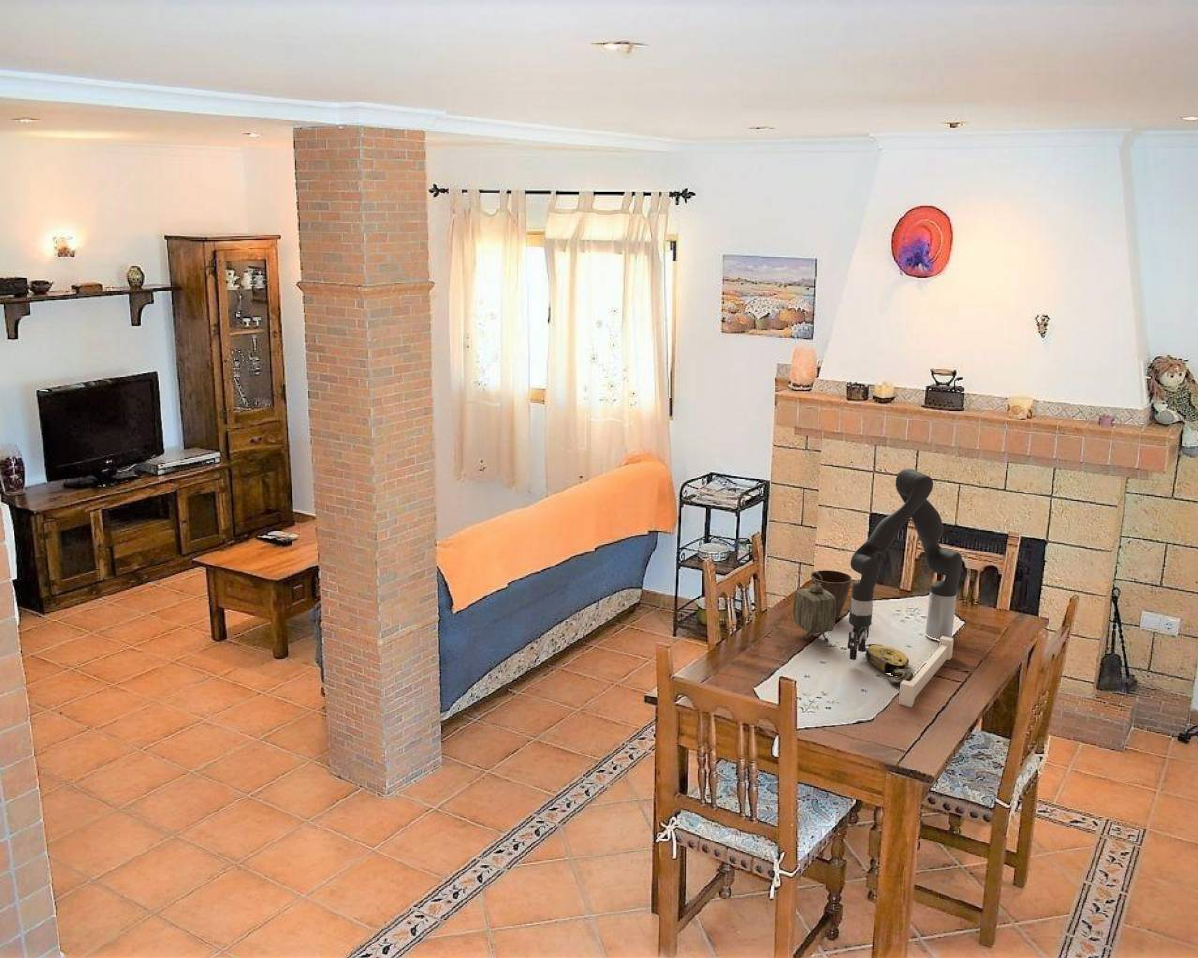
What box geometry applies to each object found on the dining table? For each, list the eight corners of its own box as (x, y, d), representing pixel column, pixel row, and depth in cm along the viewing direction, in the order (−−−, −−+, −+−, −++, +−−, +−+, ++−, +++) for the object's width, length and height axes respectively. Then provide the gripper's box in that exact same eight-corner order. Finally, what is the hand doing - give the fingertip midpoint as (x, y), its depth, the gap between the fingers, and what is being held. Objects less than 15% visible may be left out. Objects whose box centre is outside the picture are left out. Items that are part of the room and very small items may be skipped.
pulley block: (884, 670, 353) (862, 635, 382) (880, 687, 354) (858, 651, 383) (927, 677, 354) (901, 642, 383) (922, 694, 355) (897, 657, 384)
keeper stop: (940, 654, 383) (942, 635, 382) (951, 657, 381) (953, 638, 380) (898, 703, 344) (900, 683, 342) (911, 707, 342) (913, 686, 340)
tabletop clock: (833, 643, 391) (838, 577, 385) (811, 646, 387) (816, 580, 381) (811, 629, 404) (816, 565, 398) (790, 632, 400) (794, 567, 394)
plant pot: (801, 610, 422) (804, 571, 418) (835, 607, 427) (839, 568, 423) (820, 624, 408) (823, 584, 405) (855, 621, 413) (859, 581, 409)
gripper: (857, 602, 378) (853, 646, 382) (843, 614, 366) (839, 659, 370) (878, 607, 374) (874, 651, 378) (864, 619, 363) (860, 664, 366)
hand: (856, 655), depth 374 cm, fingers open, 8 cm apart
